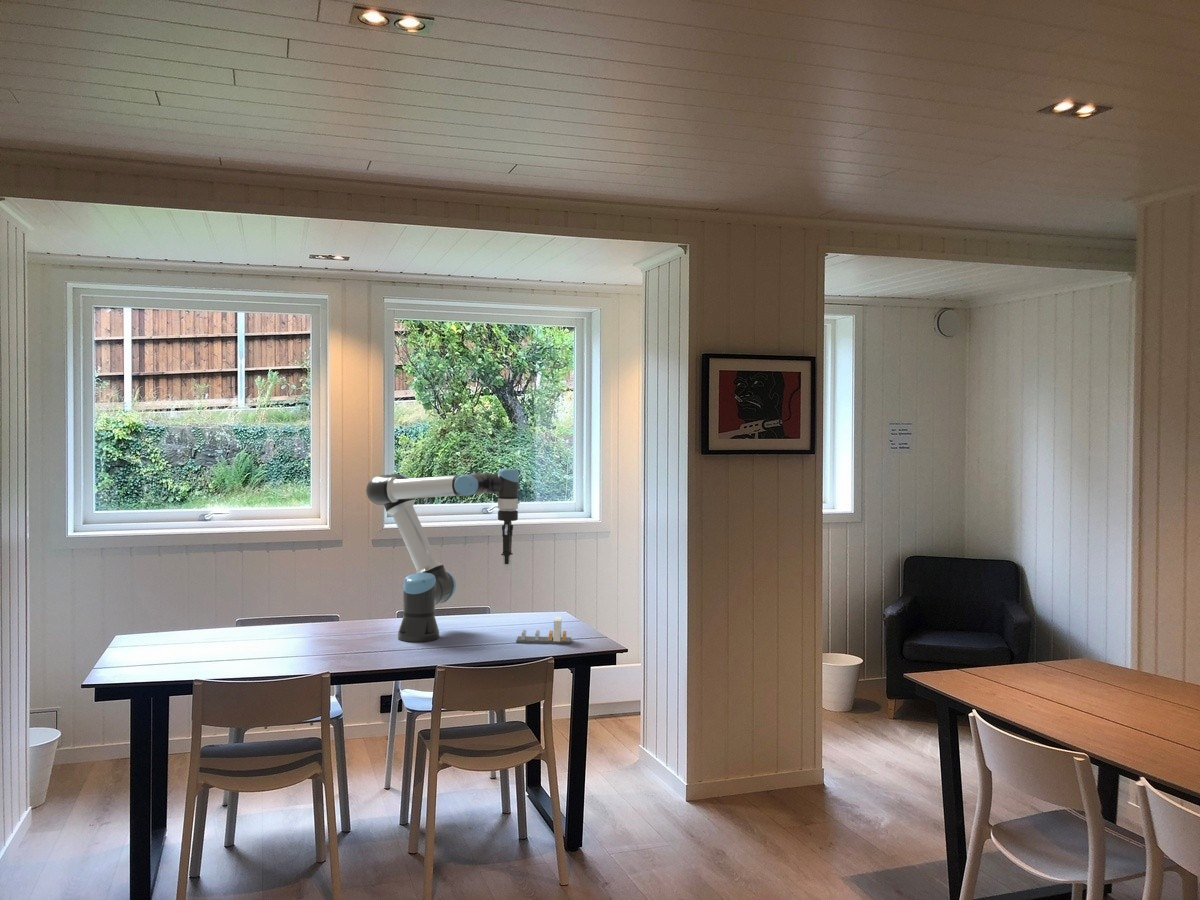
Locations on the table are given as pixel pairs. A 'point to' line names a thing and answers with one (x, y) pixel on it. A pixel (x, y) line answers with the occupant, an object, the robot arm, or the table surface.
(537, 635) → the rack
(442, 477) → the robot arm
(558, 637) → the panel
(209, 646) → the table surface
